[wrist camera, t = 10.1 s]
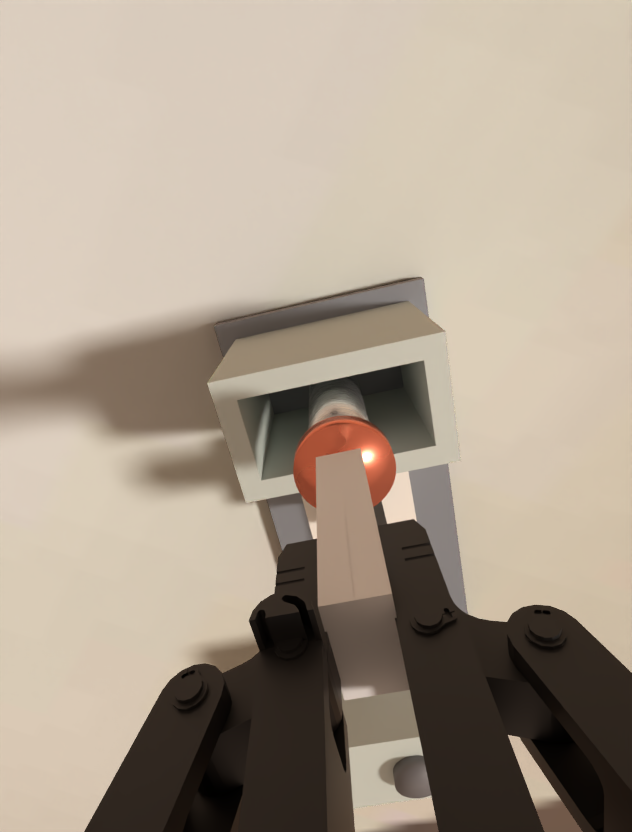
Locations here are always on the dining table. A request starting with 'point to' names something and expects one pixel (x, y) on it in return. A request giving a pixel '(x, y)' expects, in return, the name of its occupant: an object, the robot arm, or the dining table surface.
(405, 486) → the block
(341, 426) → the ball
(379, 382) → the rail fixture
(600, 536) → the dining table surface
